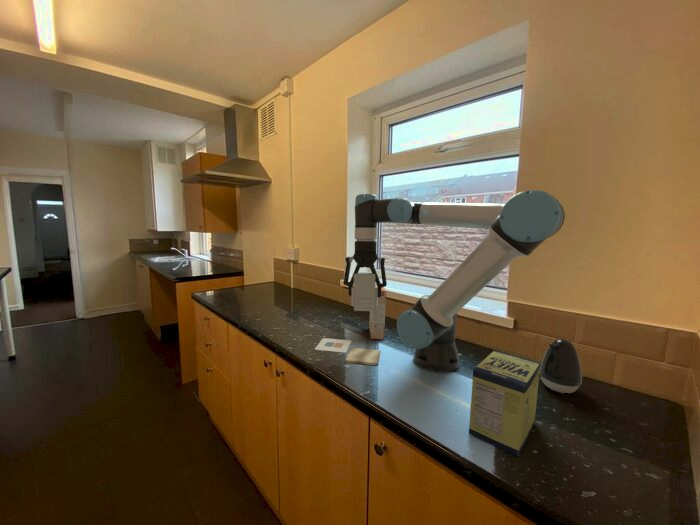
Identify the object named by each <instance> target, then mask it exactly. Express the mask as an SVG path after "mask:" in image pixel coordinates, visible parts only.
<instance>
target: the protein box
mask: <svg viewBox="0 0 700 525" xmlns="http://www.w3.org/2000/svg"><path fill="white" fill-rule="evenodd" d="M540 366H541V362H539V361H536V360H534V359H533V360H532V359H529V358H525V357H521V356H519V355H518V356H517V355H514V354H510V353H507V352H503V351H499V350H496V349H494V350H493V351H492V352H491V353H490V354H488V355H487V357H485V358H484V359H483V360H481V362H479V364H477V365H476V366H475V367H474V368H473V370H472V382H471V384H472V385H471V400H470V401H471V402H470V412H469V424H468V425H469V427H468V434H469V435H470V434H471V435H470V436H472V437H475V438H476V439H479V440H480V441H484V442H485V443H488V444H489V443H490V445H492V446H494V447H496V448H498V447H499V449H500V448H501V449H500V450H503V451H504V450H505V451H504V452H507V453H509V454H511V455H513V456H515V457H517V456H518V457H517V458H519V457H520V455H521V453H522V450H523V448H524V447H525V445H526V442H527V440H528V438H529V436H530V434H531V432H532V430H533V428H534V425H535V423H536V422H535V421H536V412H537V401H538V390H539V382H540V380H539V379H540V373H539V372H540Z"/></svg>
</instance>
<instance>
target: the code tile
mask: <svg viewBox="0 0 700 525" xmlns="http://www.w3.org/2000/svg"><path fill="white" fill-rule="evenodd" d="M352 342H353V340H348V339H338V338H337V339H336V338H328V337H327V338H326V337H323V338H322V339H321V340H320V341H319V343H318V344H317V345H316V346H315V348H314V350H315V351H322V352H332V353H333V352H334V353H340V354H341V353H344V354H346V353H347V351H348V350H349V348H350V346H351V343H352Z"/></svg>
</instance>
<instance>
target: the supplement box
mask: <svg viewBox="0 0 700 525" xmlns="http://www.w3.org/2000/svg"><path fill="white" fill-rule="evenodd" d="M375 285H376V282H375V274H372V272H371V271H369V272H368V271H359V272H358V273H357V274H354V284H353V286H354V306H353V311H356V312H370V311H375Z"/></svg>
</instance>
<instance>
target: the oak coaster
mask: <svg viewBox="0 0 700 525" xmlns="http://www.w3.org/2000/svg"><path fill="white" fill-rule="evenodd" d="M381 352H382V351H381V350H379V349H371V348H368V349H367V348H361V347H360V348H359V347H358V348H357V347H351V348H350V350H349V353H348V354H347V357H346V358H345V362H346V363H349V364H351V363H352V364H358V365H359V364H360V365H368V366H379V362H380V358H381Z"/></svg>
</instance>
